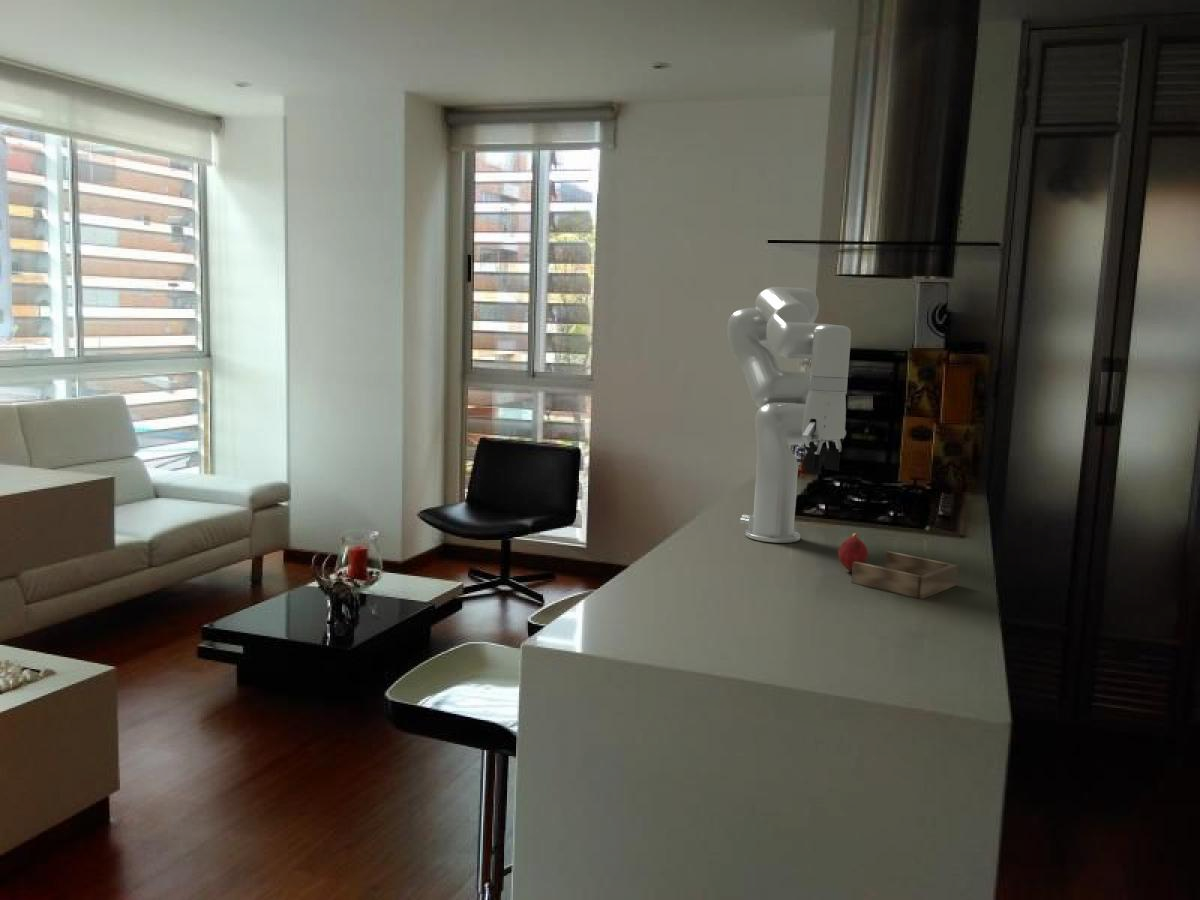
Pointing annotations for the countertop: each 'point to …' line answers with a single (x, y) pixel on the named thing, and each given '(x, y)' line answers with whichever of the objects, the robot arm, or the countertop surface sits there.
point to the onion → (852, 552)
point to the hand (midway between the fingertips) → (821, 470)
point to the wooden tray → (907, 575)
